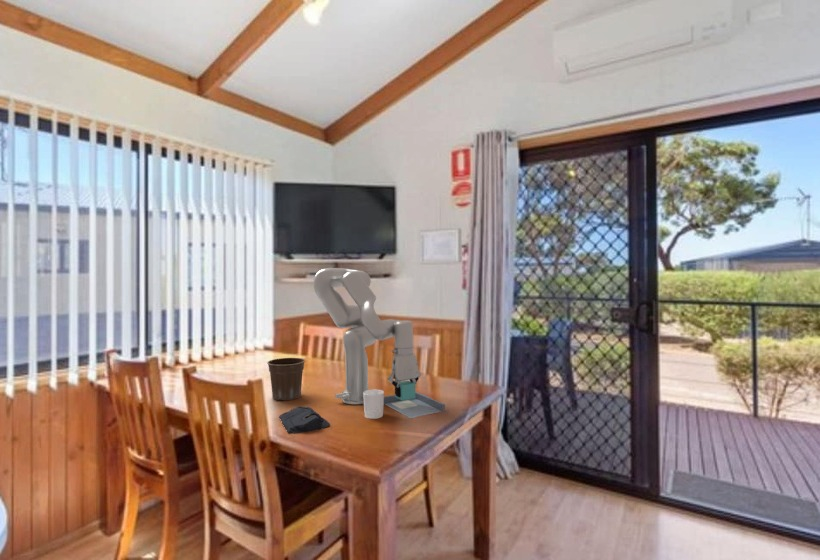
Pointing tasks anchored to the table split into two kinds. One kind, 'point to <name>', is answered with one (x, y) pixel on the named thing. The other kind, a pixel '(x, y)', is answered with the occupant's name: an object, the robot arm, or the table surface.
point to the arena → (414, 405)
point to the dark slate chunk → (303, 420)
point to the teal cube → (407, 390)
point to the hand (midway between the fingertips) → (405, 394)
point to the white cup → (373, 403)
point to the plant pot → (286, 377)
